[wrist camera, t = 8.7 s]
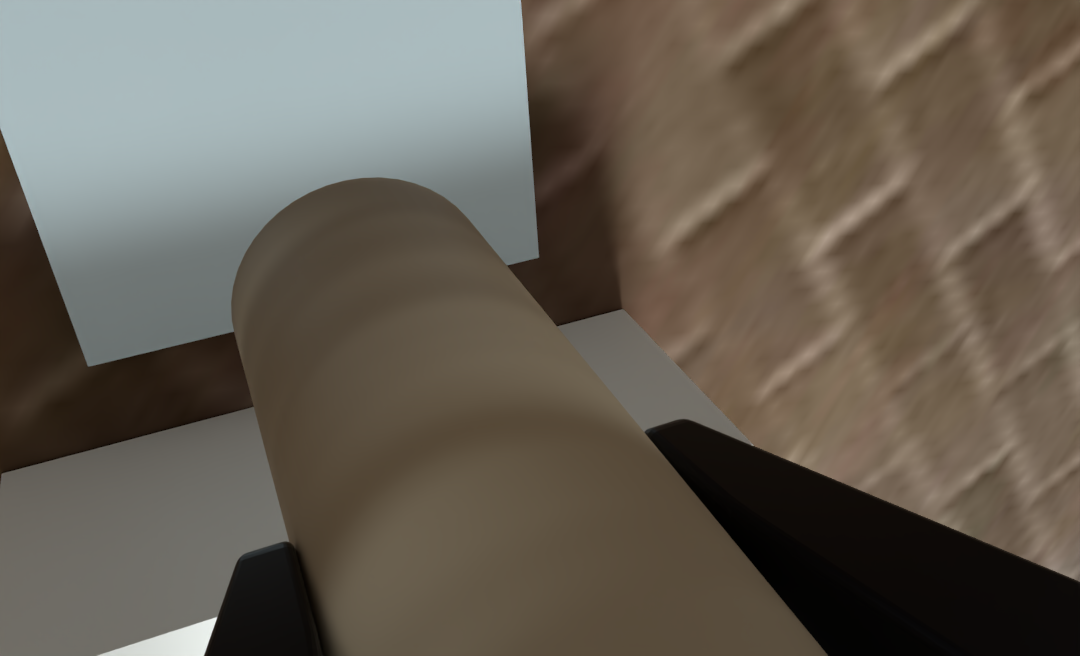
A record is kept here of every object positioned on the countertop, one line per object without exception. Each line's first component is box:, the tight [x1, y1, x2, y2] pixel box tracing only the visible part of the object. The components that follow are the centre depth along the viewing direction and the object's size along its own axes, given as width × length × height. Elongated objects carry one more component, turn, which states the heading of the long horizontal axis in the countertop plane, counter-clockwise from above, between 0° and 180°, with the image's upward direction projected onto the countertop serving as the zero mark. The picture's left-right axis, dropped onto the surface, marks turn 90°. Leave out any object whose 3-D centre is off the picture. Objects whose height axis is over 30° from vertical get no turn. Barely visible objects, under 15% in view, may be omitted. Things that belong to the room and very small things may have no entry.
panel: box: [0, 309, 753, 656], centre depth 20 cm, size 12×10×5 cm
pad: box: [0, 0, 539, 367], centre depth 16 cm, size 8×6×1 cm
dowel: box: [231, 177, 828, 656], centre depth 7 cm, size 3×3×10 cm
